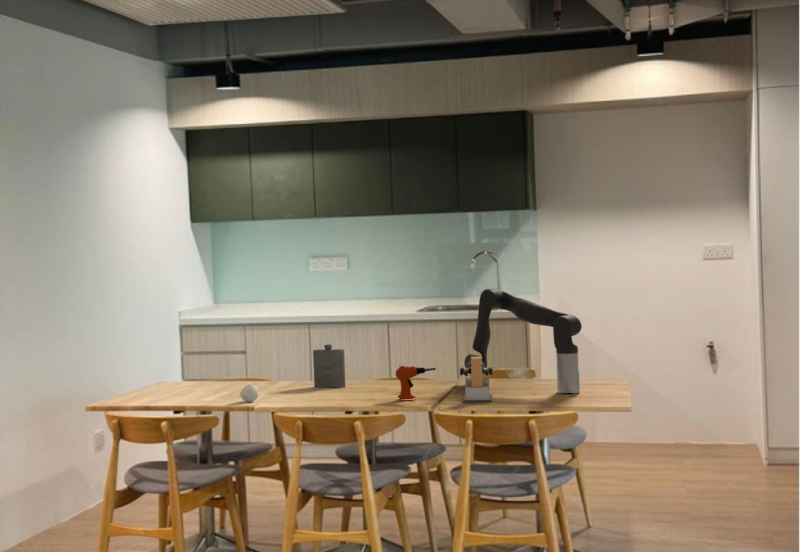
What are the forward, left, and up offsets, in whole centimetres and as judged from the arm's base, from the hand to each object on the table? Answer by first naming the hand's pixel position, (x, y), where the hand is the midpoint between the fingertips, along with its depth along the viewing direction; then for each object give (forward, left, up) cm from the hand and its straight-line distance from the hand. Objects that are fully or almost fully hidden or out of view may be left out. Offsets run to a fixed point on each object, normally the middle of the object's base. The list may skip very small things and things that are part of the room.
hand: (476, 373), depth 461 cm
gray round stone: (+99, +4, -9) cm, 99 cm away
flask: (+69, -33, -9) cm, 77 cm away
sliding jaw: (0, +7, -8) cm, 10 cm away
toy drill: (+26, +9, -9) cm, 29 cm away
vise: (0, +12, -9) cm, 15 cm away
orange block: (0, +13, -8) cm, 15 cm away
